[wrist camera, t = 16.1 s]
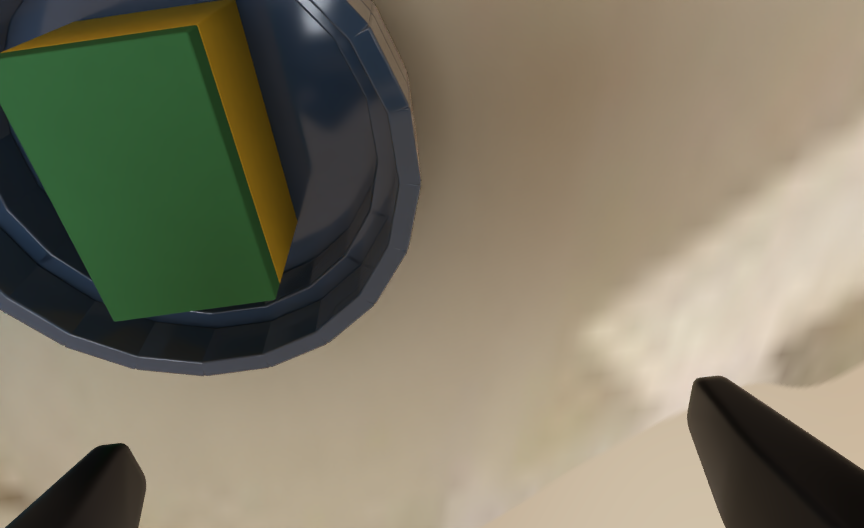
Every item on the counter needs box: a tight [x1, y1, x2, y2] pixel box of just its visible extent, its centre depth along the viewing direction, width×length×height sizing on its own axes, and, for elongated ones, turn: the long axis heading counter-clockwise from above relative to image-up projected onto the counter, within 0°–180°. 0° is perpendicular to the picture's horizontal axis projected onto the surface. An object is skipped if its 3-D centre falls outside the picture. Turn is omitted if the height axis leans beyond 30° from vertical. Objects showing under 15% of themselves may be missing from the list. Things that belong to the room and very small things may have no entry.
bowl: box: [0, 0, 421, 376], centre depth 17 cm, size 13×13×4 cm
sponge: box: [0, 0, 297, 322], centre depth 16 cm, size 7×4×4 cm, turn 7°
